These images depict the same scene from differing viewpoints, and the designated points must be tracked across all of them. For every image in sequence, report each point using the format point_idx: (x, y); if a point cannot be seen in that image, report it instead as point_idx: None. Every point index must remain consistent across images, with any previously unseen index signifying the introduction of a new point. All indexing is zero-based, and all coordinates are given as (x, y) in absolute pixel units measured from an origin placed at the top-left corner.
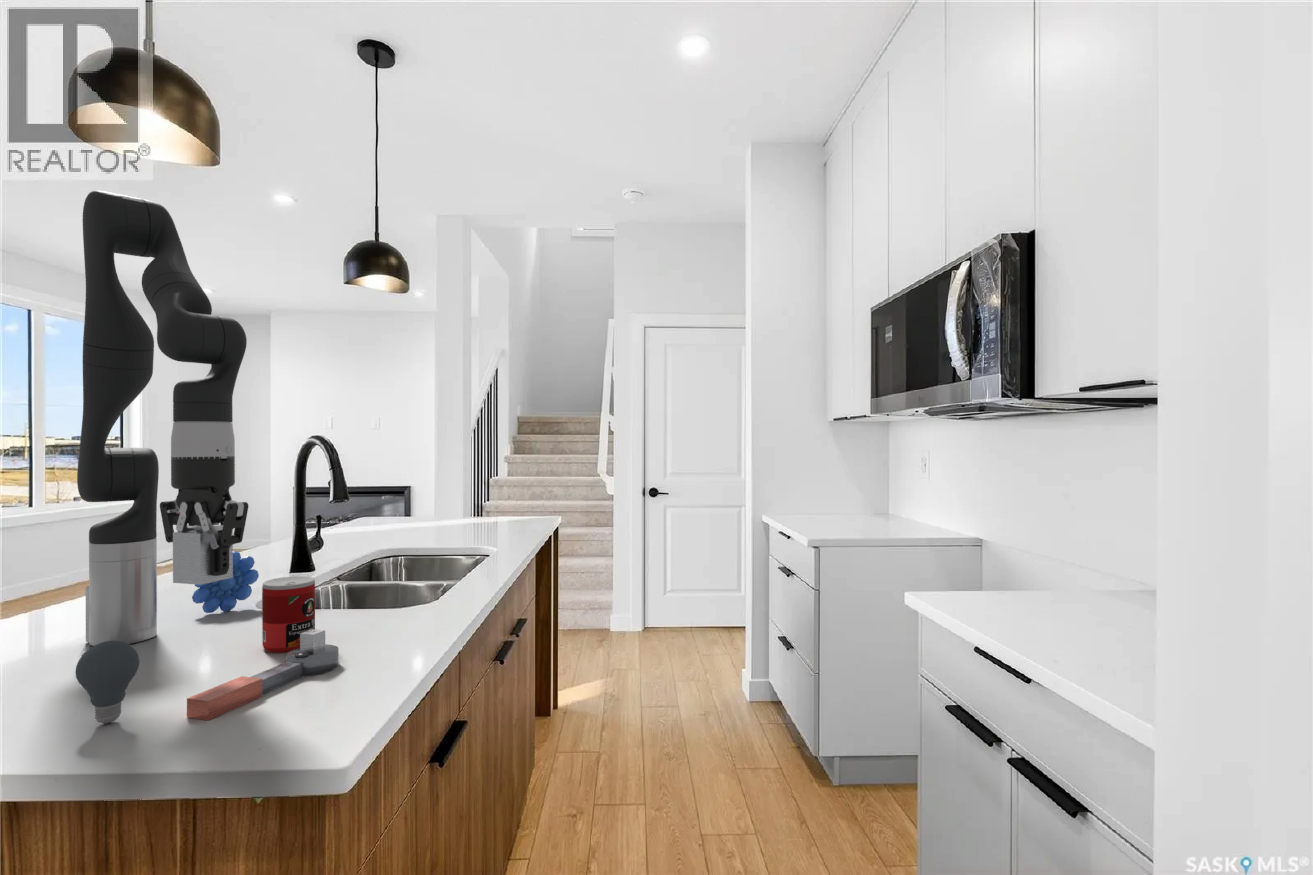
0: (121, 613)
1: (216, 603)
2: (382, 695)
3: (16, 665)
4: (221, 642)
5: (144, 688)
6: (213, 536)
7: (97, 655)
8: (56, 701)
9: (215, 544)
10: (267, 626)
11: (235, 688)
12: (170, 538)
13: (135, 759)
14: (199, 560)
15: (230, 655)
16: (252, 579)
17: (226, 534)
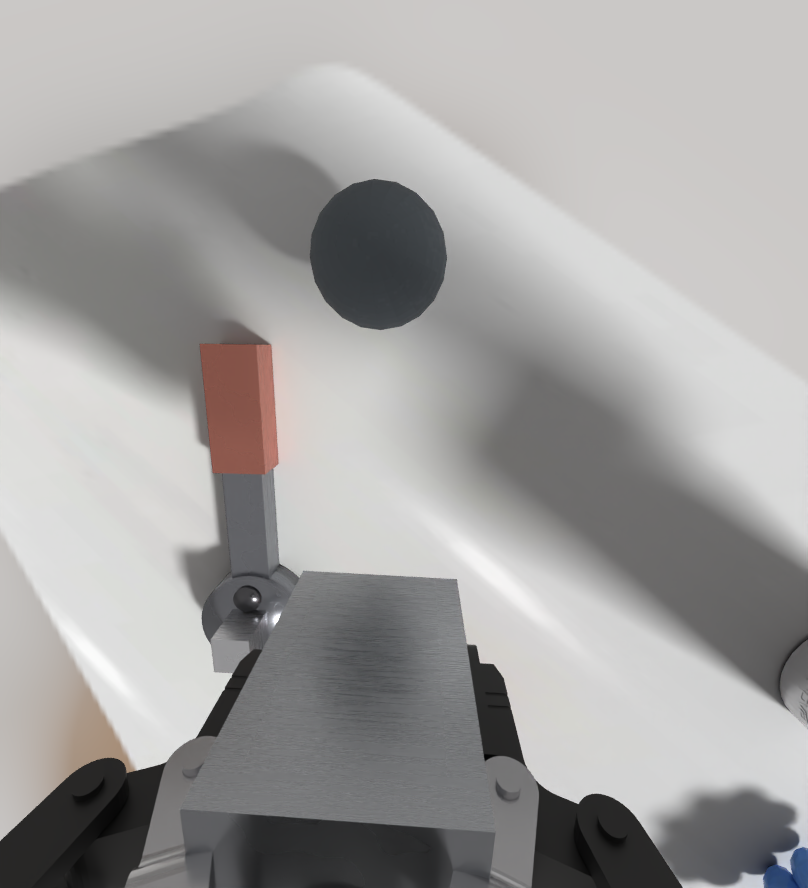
0: None
1: (800, 880)
2: (29, 514)
3: None
4: (590, 695)
5: (499, 445)
6: (164, 828)
7: (348, 195)
8: (616, 346)
9: (180, 766)
10: None
11: (212, 413)
12: (594, 827)
13: (182, 171)
14: (271, 642)
15: (496, 633)
16: None
17: (24, 843)
